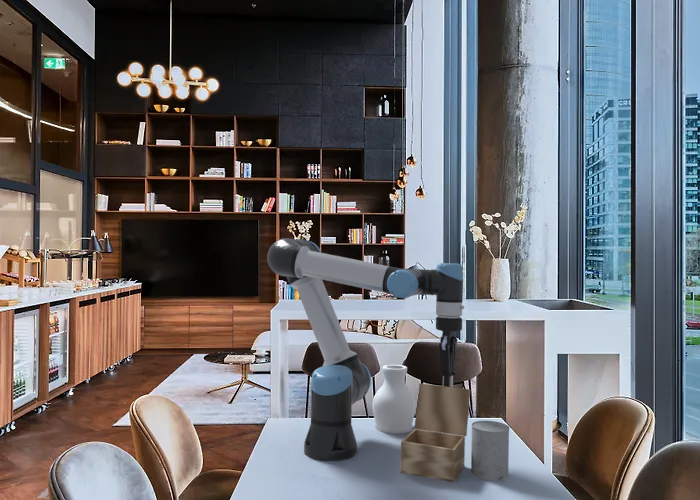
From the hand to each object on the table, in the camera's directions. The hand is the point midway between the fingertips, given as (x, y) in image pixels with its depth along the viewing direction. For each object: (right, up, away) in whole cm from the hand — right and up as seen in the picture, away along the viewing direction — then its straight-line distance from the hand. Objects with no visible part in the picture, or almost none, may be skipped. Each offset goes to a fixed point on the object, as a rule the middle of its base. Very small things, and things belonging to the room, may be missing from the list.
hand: (447, 398), depth 161 cm
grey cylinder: (+8, -16, -16) cm, 24 cm away
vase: (-14, -16, +21) cm, 30 cm away
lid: (-3, -1, -6) cm, 7 cm away
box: (-6, -15, -14) cm, 22 cm away
